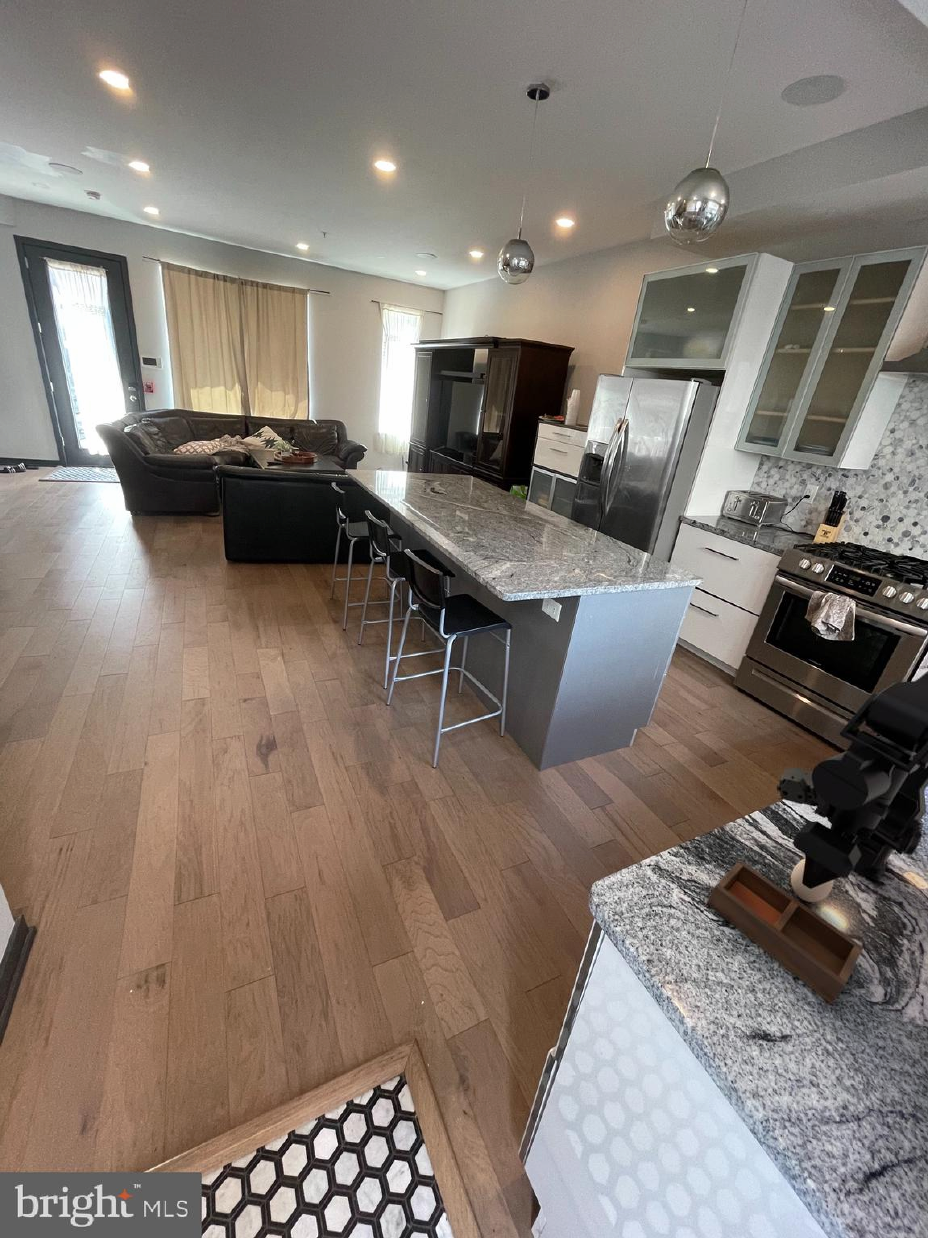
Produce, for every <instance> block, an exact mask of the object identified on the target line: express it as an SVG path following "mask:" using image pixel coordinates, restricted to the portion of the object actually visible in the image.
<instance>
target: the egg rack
mask: <svg viewBox="0 0 928 1238" xmlns="http://www.w3.org/2000/svg"><path fill="white" fill-rule="evenodd" d="M706 905H707V906H709V908H711V909H712V910H714V911H715V912H716V913H717V914H718V915H720V916H721V917H722V918H723V919H725V920H726V921H727V922H728V923H729V924H731V925H732V926H733V927H734V928H736V929H737V930H738V931H740V932H741V933H742V934H743V935H744V936H746V937H747V938H748V939H749V940H751V941H752V942H753V943H754V944H755V945H757V946H758V947H759V948H760V949H761V950H763V951H765V953H767V954H768V955H769V956H771V957H772V958H773V959H774V960H775V961H777V962H778V963H780V965H782V967H784V968H785V969H786V970H788V971H789V972H790V973H792V975H794V976H795V977H796V978H797V979H799V980H800V981H801V982H802V983H804V984H805V985H806V986H807V987H809V988H810V989H811V990H813V992H815V993H816V994H817V995H818V996H820V997H821V998H822V999H823V1000H824V1001H826V1002H827V1003H829V1004H830V1005H833V1003H834V1002H835V1001H836V1000H837V998H838V997H839V995H840V994H841V992H842V991H843V989H844V988H845V986H846V985H847V982H848V980H849V978H850V976H851V974H852V972H853V970H854V968H855V966H856V964H857V962H858V960H859V957H860V956H861V954H862V951H863V949H864V947H863V946H862V945H861V944H860V943H858V942H857V941H855V940H854V939H853V938H851V937H850V936H848V935H847V934H846V933H844V932H843V931H841V930H840V929H839V928H837V927H836V926H834V925H833V924H831V923H830V922H829V921H828V920H825V919H824V918H823V917H822V916H821V915H819V914H818V913H816V912H814V911H813V910H812V909H811V908H810V907H807V906H806V905H805V904H804V903H802V902H800V901H799V900H798V899H796V898H795V897H793V896H792V895H790V894H789V893H788V892H787V891H785V890H784V889H782V888H781V887H779V886H778V885H777V884H775V883H774V882H772V880H770V879H768V878H767V877H766V876H764V875H763V874H762V873H760V872H758V871H757V870H756V869H754V868H753V867H751V866H750V865H748V864H747V863H746V862H745V861H743V860H741V859H739V860H738V861H737V863H735V864H734V866H733V867H732V868H731V869H730V870H729V871H728V872H727V873H726V874H725V875H724V876H723V877H722V878H721V879H720V880H719V881H718V882H717V883H716V884H715V885H714V888H713V889H712V892H711V894H710V896H709V897H708V900H707V902H706Z"/></svg>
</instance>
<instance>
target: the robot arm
mask: <svg viewBox="0 0 928 1238" xmlns="http://www.w3.org/2000/svg"><path fill="white" fill-rule="evenodd" d="M863 724H864V727H865V729H867V730H869V731H871V732H873V733H875V734H876V735H877V736H875V735H873V734H871V733H870V732H867V731H866V730H863V729H861V728H860V727H861V726H862V725H863ZM878 735H879V736H878ZM838 736H840V737H842V738H844V739H845V740H847V741H848V742H849V741H850V745H849V747H848V748H847V749H846V750H845V751H843V752H841V753H839V754H836V755H834V756H831V757H829V758H826V759H825V760H822V761H821V762H819V763H817V764H816V765H815V766H814V768H813V769H812V770H807V769H805V768H800V767H792V766H791V767H788V768H787V769H786V770H785V771H784V772H782V773H781V775H780V777H779V783H778V785H777V786H776V790H777V791H778V792H779V794H780V795H779V796H780V798H781V799H783V800H785V801H787V802H792V803H795V804H798V805H806V806H809V807H816V808H815V810H814V812H813V813H814V814H816V815H818V816H820V817H821V818H823V819H825V818H827V821H828V823H830V824H831V825H830V827H828V826H826V825H825V824H823V823H821V822H819V821H817V820H816V821H807V822H806V823H804V825H803V826H802V827H801V828H800V829H799V830H798V831H797V834H796V836H795V837H794V839H793V841H792V846H793V847H794V848H795V850H798V851H799V852H801V853H803V855H804V859H805V865H804V872H803V879H802V884H803V885H805V886H806V887H808V888H809V889H812V888H814V887H817V886H819V885H822V884H824V883H827V882H829V881H832V880H834V881H835V880H837V879H841V878H842V879H843V878H844V879H848V878H849V876H850V874H851V873H852V871H853V870H854V869H855V870H856V871H858V872H859V873H861V874H862V875H864V876H865V877H868V878H869V879H871V880H872V881H874V882H876V883H879V882H880V881H881V878H882V876H883V875H884V872H885V871H886V869H887V867H888V865H889V862H888V860H889V859H890V857H891V855H892V853H893V852H894V851H895V852H896V853H897V854H898V855H900V856H901V855H903V854H907V855H910V856H911V855H913V854H914V853H915V851H916V850H917V848H918V847H919V845H920V843H921V840H922V837H923V826H924V823H923V822H921V820H922V818H923V817H924V816H925V815H926V813H927V804H926V794H925V790H926V789H927V788H928V670H927V671H925V672H924V673H923V674H922V675H921V676H920V677H918V678H917V679H916V680H912V681H897V682H893V683H892V684H890V685H889V686H887V687H886V688H884V689H883V690H881V691H880V692H877V691H876V692H874V693H872V694H871V695H870V696H869V697H868V698H867V699H866V700H865V702H864V703H863V704H861V706H860V708H859V709H858V710H857V712H855V714H854V715H853V716H852V717H851V718H850V720H849V721H848V722H847V723H846V725H844V727H843V728H842V730H841V731H839V733H838Z"/></svg>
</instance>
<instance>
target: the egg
mask: <svg viewBox="0 0 928 1238" xmlns="http://www.w3.org/2000/svg"><path fill="white" fill-rule="evenodd" d="M804 865H805V858H803V859H801V860H799V861H798V862H797V864H796V865H795V866H794V868H793V870H792V872H791V877H790V882H791V887H792V889H793V892H794V893H795V894H796V896H797V897H798V898H799V899H801V900H803V901H805V902H809V903H816V902H820V901H822V900H824V899H826V898H828V896H829V894H830V893H831V891H832V889H833V886H834V883H835V879H834V880H832V881H829V882H827V883H824V884H822V885H819V886H817V887H814V888H812V889H809V888H808V887H806V886H805V885H803V884H802V879H803V872H804Z"/></svg>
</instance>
